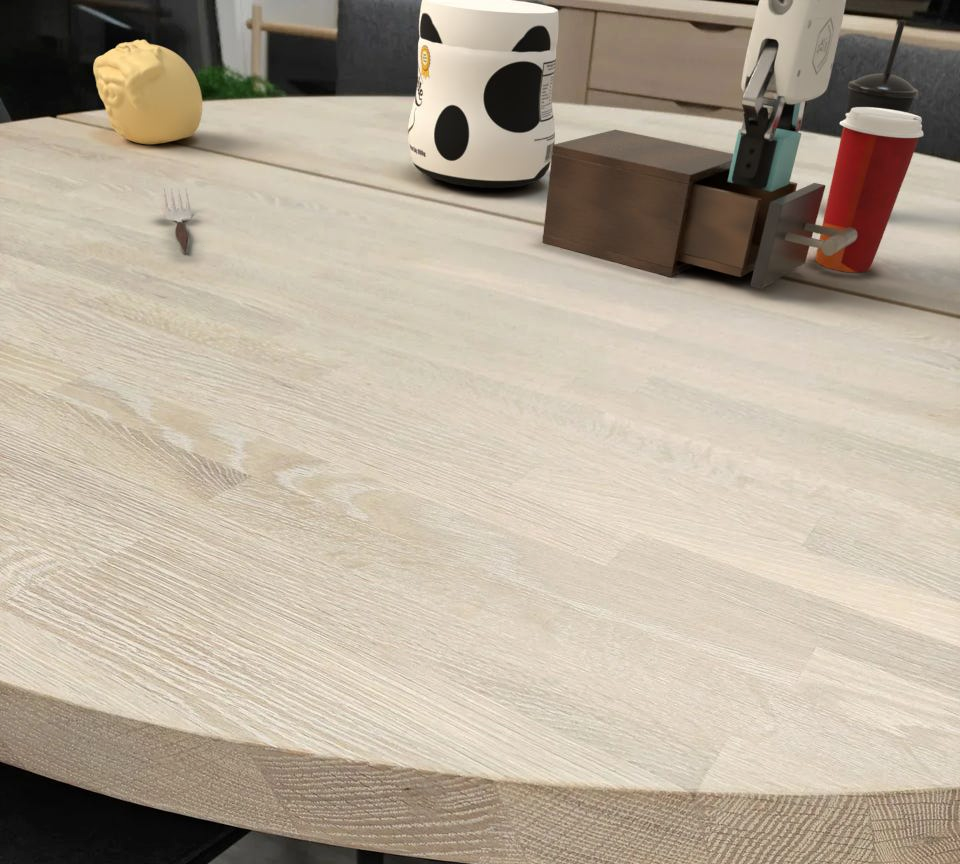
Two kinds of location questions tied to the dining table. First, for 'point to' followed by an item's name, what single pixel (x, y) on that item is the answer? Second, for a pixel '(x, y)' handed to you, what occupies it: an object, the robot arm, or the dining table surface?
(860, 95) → the drinking cup
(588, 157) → the cabinet
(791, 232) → the drawer
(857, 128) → the paper cup
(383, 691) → the dining table surface
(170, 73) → the sculpture
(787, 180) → the teal cube
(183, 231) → the fork
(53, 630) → the dining table surface
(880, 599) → the dining table surface
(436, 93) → the milk container
